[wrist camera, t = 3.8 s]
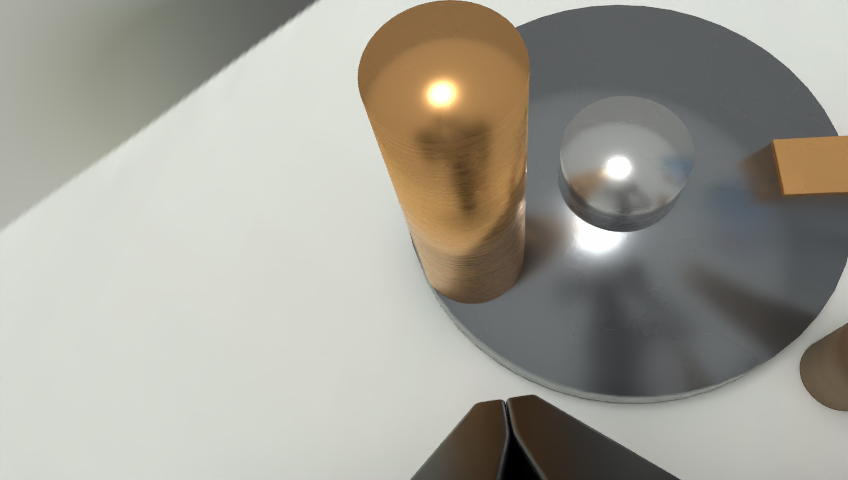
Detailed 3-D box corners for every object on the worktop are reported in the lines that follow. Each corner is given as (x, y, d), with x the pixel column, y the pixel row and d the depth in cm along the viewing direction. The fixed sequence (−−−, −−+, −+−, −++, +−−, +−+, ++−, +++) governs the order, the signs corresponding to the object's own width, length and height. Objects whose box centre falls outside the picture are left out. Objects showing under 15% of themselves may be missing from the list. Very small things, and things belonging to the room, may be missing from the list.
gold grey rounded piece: (943, 91, 22) (1269, -240, 12) (889, 505, 17) (1320, 482, 8) (484, -3, 25) (466, -313, 16) (348, 319, 21) (216, 157, 12)
